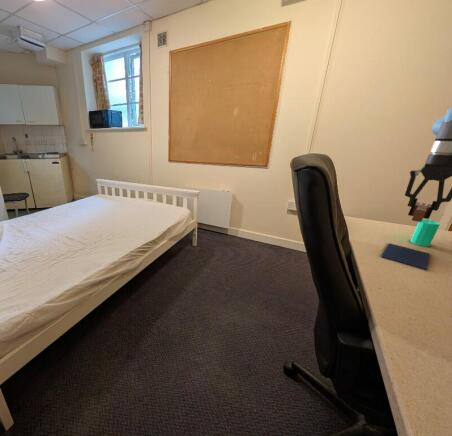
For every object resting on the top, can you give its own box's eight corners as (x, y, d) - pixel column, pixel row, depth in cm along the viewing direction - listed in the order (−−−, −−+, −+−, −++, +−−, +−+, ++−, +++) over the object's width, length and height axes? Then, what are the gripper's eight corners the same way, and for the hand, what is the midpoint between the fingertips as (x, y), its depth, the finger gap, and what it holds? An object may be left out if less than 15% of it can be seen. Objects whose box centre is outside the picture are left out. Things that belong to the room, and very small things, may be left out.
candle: (411, 239, 104) (421, 215, 100) (430, 243, 100) (442, 219, 95) (409, 242, 101) (420, 218, 96) (429, 247, 96) (441, 222, 92)
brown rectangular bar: (424, 222, 80) (429, 211, 78) (408, 219, 83) (413, 208, 81) (426, 214, 88) (431, 204, 86) (412, 212, 91) (416, 201, 89)
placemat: (388, 244, 100) (389, 243, 99) (428, 254, 91) (429, 253, 91) (381, 257, 89) (381, 256, 89) (426, 270, 80) (426, 269, 80)
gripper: (485, 155, 73) (453, 220, 81) (411, 152, 86) (389, 209, 94) (487, 156, 69) (453, 225, 77) (409, 153, 81) (386, 212, 89)
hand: (418, 216), depth 85 cm, fingers closed on brown rectangular bar, 4 cm apart
